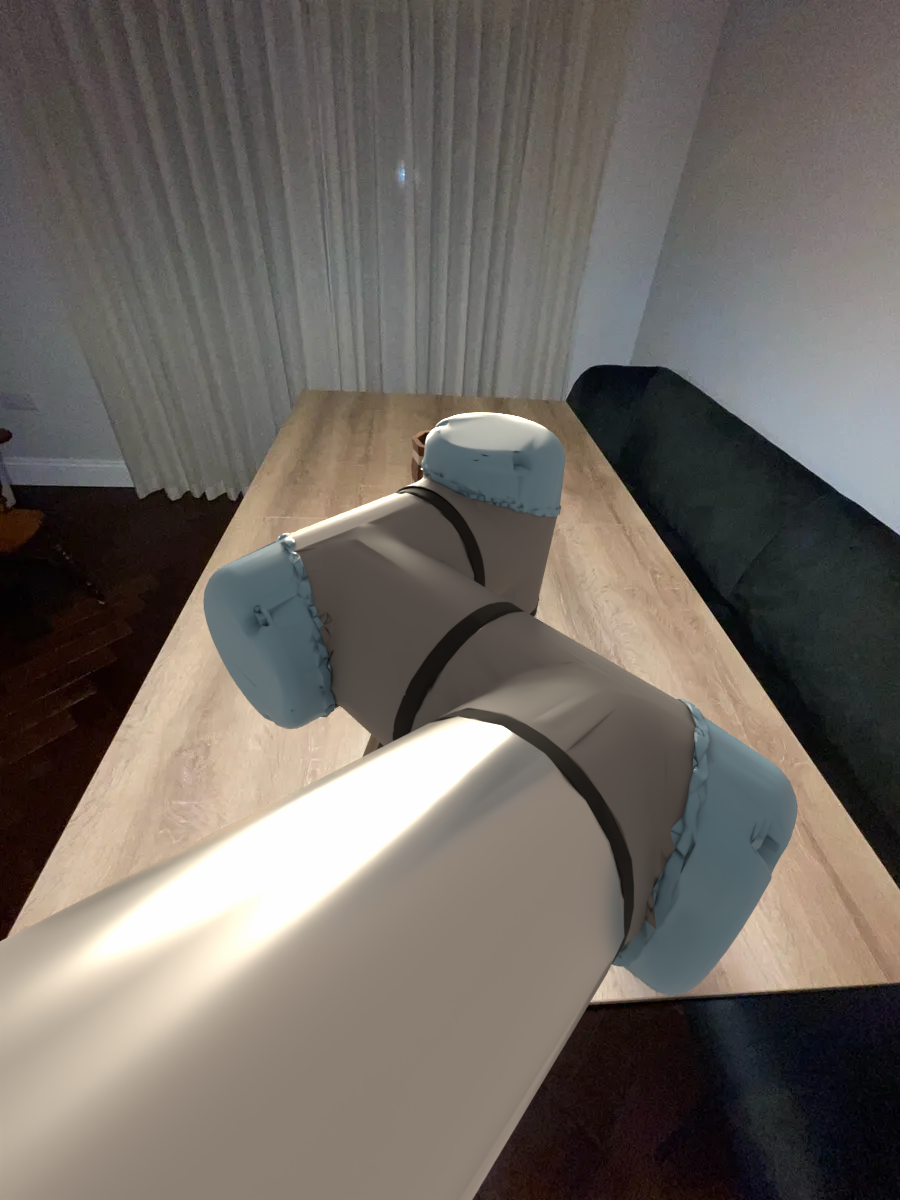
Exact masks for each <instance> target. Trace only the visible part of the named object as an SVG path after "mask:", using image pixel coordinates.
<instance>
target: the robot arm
mask: <svg viewBox="0 0 900 1200" xmlns="http://www.w3.org/2000/svg"><path fill="white" fill-rule="evenodd" d="M431 430H432V431H431V432H430V433H429V434H428V435H427V438H426V441H425V450H424V458H423V460H422V462H421V463H420V464H421V470H423V478H422V479H421V480H419V481H418V482H416V483H413V484H412V483H410V484H408V485H406V486H403V487H401V488H399V489H398V490H397V491H396V492H394V493H391V494H389V495H386V496H383V497H381V498H378V499H376V500H373V501H371V502H368V503H366V504H363V505H360V506H358V507H355V508H352V509H349V510H347V511H344V512H341V513H339V514H337V515H333V516H331V517H329V518H327V519H324V520H320V521H318V522H316V523H313V524H311V525H308V526H306V527H303V528H300V529H298V530H294V531H293V532H290V533H289V532H286V533H282V534H281V535H279V536H277V538H276V539H275V541H273V542H271V543H268V544H267V545H264V546H262V547H260V548H258V549H256V550H254V551H251V552H249V553H248V554H246V555H242V556H241V557H239V558H237V559H235V560H233V561H230V562H229V563H227V564H224V565H222V566H220V567H219V568H218V569H217V570H215V571H214V572H213V573H212V575H211V576H210V577H209V578H208V581H207V583H206V586H205V588H204V591H203V612H204V617H205V622H206V625H207V629H208V632H209V634H210V637H211V639H212V642H213V644H214V646H215V648H216V650H217V654H218V655H219V657H220V659H221V661H222V663H223V665H224V666H225V669H226V670H227V672H228V674H229V676H230V677H231V679H232V680H233V682H234V683H235V685H236V686H237V688H238V689H239V691H240V692H241V693H242V695H243V697H245V699H246V700H247V701H248V702H249V704H250V705H251V706H252V707H253V708H254V709H255V710H256V712H258V713H259V714H260V715H261V716H262V717H263V718H264V719H265V720H267V721H270V722H273V723H274V724H275V725H276V726H277V727H280V728H282V729H285V730H296V729H299V728H302V727H305V726H306V725H308V724H310V723H312V722H314V721H315V720H318V719H319V718H328V717H329V716H330V714H331V713H333V712H334V711H335V710H336V709H337V708H339V707H340V708H341V709H343V710H344V711H345V712H346V713H347V714H348V715H350V716H351V717H352V718H353V719H354V720H355V721H356V722H357V723H358V724H360V726H361V727H363V728H364V729H365V730H366V731H367V732H368V733H369V734H370V736H369V738H368V741H367V744H366V746H365V749H364V751H363V754H362V756H361V757H360V758H358V759H356V760H354V761H352V762H350V763H348V764H345V765H344V766H341V767H340V768H338V769H336V770H334V771H332V772H330V773H329V774H326V775H324V776H322V777H320V778H319V779H317V780H314V781H313V782H310V783H309V784H307V785H305V786H303V787H301V788H299V789H297V790H295V791H293V792H291V793H289V794H287V795H285V796H283V797H281V798H279V799H277V800H276V801H273V802H271V803H269V804H267V805H265V806H263V807H261V808H260V809H257V810H255V811H254V812H251V813H249V814H248V815H246V816H244V817H241V818H240V819H238V820H236V821H234V822H231V823H230V824H228V825H226V826H224V827H223V828H220V829H218V830H217V831H214V832H212V833H211V834H208V835H207V836H204V837H203V838H201V839H199V840H197V841H194V842H192V843H191V844H189V845H187V846H185V847H182V848H181V849H178V850H177V851H175V852H173V853H171V854H169V855H167V856H165V857H163V858H161V859H160V860H159V859H158V860H157V861H155V862H153V863H151V864H149V865H147V866H146V867H143V868H141V869H140V870H138V871H136V872H134V873H132V874H130V875H127V876H126V877H124V878H122V879H120V880H118V881H116V882H114V883H112V884H110V885H107V886H106V887H104V888H103V889H101V890H97V891H96V892H95V893H92V894H91V895H89V896H87V897H85V898H83V899H81V900H79V901H77V902H75V903H72V904H71V905H69V906H66V907H65V908H62V909H60V910H59V911H57V912H55V913H53V914H51V915H49V916H46V918H43V919H42V920H39V921H38V922H35V923H34V924H32V925H30V926H28V927H25V928H23V929H22V930H20V931H18V932H16V933H14V934H12V935H10V936H8V937H6V938H4V939H2V940H1V941H0V1200H474V1198H475V1196H476V1194H477V1193H478V1191H479V1189H480V1187H481V1186H482V1185H483V1183H484V1181H485V1179H486V1178H487V1176H488V1175H489V1173H490V1171H491V1169H492V1168H493V1167H494V1164H495V1162H496V1161H497V1159H498V1158H499V1156H500V1154H501V1153H502V1151H503V1149H504V1147H505V1146H506V1144H507V1142H508V1141H509V1139H510V1138H511V1136H512V1134H513V1133H514V1131H515V1129H516V1128H517V1126H518V1125H519V1122H520V1121H521V1119H522V1118H523V1115H524V1114H525V1112H526V1111H527V1109H528V1107H529V1106H530V1104H531V1102H532V1100H533V1099H534V1098H535V1096H536V1094H537V1092H538V1090H539V1089H540V1087H541V1085H542V1084H543V1082H544V1081H545V1079H546V1077H547V1076H548V1074H549V1072H550V1071H551V1069H552V1067H553V1066H554V1064H555V1062H556V1061H557V1059H558V1057H559V1055H560V1054H561V1052H562V1051H563V1048H564V1047H565V1046H566V1044H567V1042H568V1040H569V1038H570V1037H571V1035H572V1034H573V1032H574V1030H575V1029H576V1027H577V1025H578V1024H579V1022H580V1020H581V1018H582V1017H583V1015H584V1013H585V1012H586V1010H587V1008H588V1007H589V1005H590V1003H591V1001H592V1000H593V999H594V997H595V995H596V993H597V992H598V991H599V988H600V987H601V985H602V983H603V982H604V980H605V978H606V976H607V975H608V973H609V971H610V968H611V967H612V966H614V967H621V968H624V969H625V970H626V971H628V972H629V973H630V974H632V976H634V977H636V978H637V979H638V980H639V981H641V982H642V983H643V984H645V985H646V986H647V987H648V988H649V989H651V990H653V991H654V992H656V993H657V994H658V993H659V994H662V995H666V996H679V995H683V994H687V993H689V992H690V991H693V989H695V988H696V987H697V986H699V984H701V983H702V982H703V981H704V980H705V979H706V978H707V976H708V975H709V974H710V973H711V972H712V970H713V969H714V968H715V967H716V966H717V964H718V963H719V962H720V961H721V960H722V958H723V957H724V955H725V954H726V953H727V952H728V950H729V949H730V948H731V946H732V945H733V943H734V942H735V940H736V938H738V936H739V934H740V933H741V932H742V930H743V928H744V927H745V925H746V924H747V922H748V920H749V919H750V917H751V916H752V914H753V912H754V910H755V909H756V907H757V906H758V904H759V902H761V901H760V900H761V899H762V897H763V896H764V893H765V891H766V890H767V888H768V887H769V885H770V882H771V881H772V878H773V877H772V876H773V873H774V870H775V867H776V866H777V864H778V862H779V860H780V858H781V857H782V855H783V853H784V852H785V850H786V849H787V848H788V845H789V843H790V842H791V839H792V837H793V832H794V829H795V826H796V823H797V818H798V806H799V805H798V799H797V796H796V793H795V790H794V787H793V785H792V783H791V781H790V779H789V778H788V776H787V775H786V774H785V773H784V772H783V770H782V769H781V768H780V767H778V766H777V765H776V764H775V763H774V762H773V761H771V760H770V759H768V758H766V757H765V756H764V755H762V754H761V753H760V752H758V751H756V750H755V749H754V748H752V747H750V746H749V745H747V744H746V743H744V742H743V741H742V740H740V739H738V737H737V738H736V736H734V735H732V734H731V733H729V732H728V731H726V730H725V729H724V728H722V727H720V726H719V725H718V724H716V723H715V722H713V721H711V720H710V719H708V718H707V717H706V716H704V714H703V713H702V712H701V710H700V708H698V707H696V705H694V704H693V703H692V702H691V701H688V700H686V699H684V698H676V697H674V696H672V695H670V694H669V693H666V692H665V691H663V690H661V689H660V688H658V687H656V686H655V685H653V684H651V683H649V682H647V681H646V680H644V679H642V678H641V677H639V676H637V675H636V674H633V673H632V672H631V671H629V670H626V669H625V668H623V667H622V666H620V665H618V664H616V663H615V662H613V661H611V660H610V659H608V658H606V657H604V656H603V655H601V654H599V653H598V652H596V651H594V650H592V649H590V648H589V647H587V646H585V645H583V644H582V643H580V642H578V641H577V640H575V639H574V638H572V637H570V636H568V635H567V634H565V633H563V632H562V631H560V630H558V629H556V628H554V627H553V626H551V625H549V624H547V623H545V622H544V621H542V620H540V619H538V618H536V617H537V614H538V608H539V607H538V606H539V602H540V594H541V589H542V586H543V581H544V576H545V572H546V569H547V568H546V567H547V563H548V559H549V554H550V550H551V546H552V541H553V537H554V533H555V528H556V524H557V519H558V516H560V515H561V510H562V506H561V501H562V493H563V491H562V490H563V485H564V475H565V469H566V468H565V467H566V453H565V449H564V446H563V443H562V442H561V440H560V439H559V438H558V436H557V435H556V434H555V433H554V432H552V431H551V430H549V429H548V428H547V427H545V426H544V425H542V424H539V423H537V422H535V421H531V420H528V419H527V418H523V417H520V416H515V415H511V414H506V413H505V414H503V413H496V412H469V413H468V412H467V413H461V414H456V415H453V416H449V417H447V418H444V419H442V420H440V421H439V422H437V423H436V425H435V426H434V428H433V429H431Z"/></svg>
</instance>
